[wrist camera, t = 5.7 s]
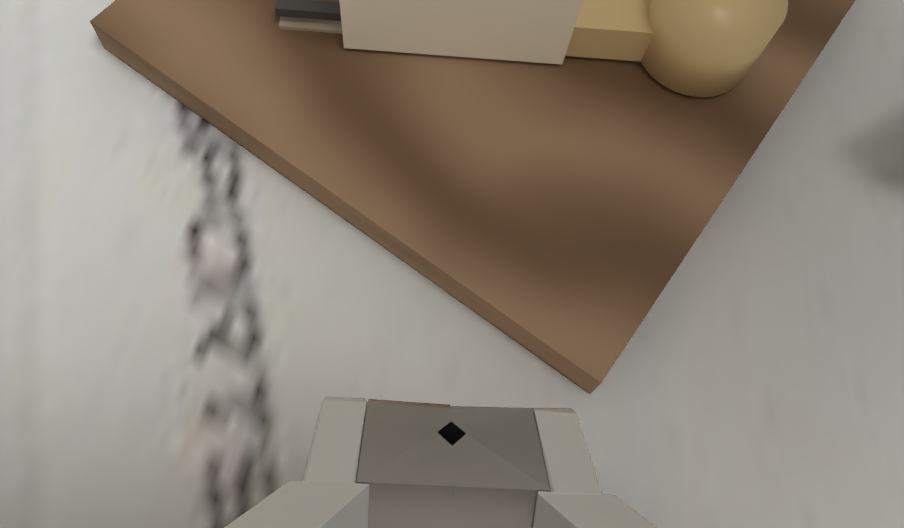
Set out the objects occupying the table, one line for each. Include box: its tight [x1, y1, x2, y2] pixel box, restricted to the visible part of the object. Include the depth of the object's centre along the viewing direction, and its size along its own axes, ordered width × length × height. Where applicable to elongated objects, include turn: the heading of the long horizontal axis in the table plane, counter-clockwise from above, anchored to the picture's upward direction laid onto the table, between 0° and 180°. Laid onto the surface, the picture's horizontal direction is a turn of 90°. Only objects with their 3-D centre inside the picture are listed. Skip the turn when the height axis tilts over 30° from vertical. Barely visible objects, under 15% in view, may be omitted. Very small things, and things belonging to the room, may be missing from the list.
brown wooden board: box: [90, 0, 855, 394], centre depth 30 cm, size 22×22×2 cm
